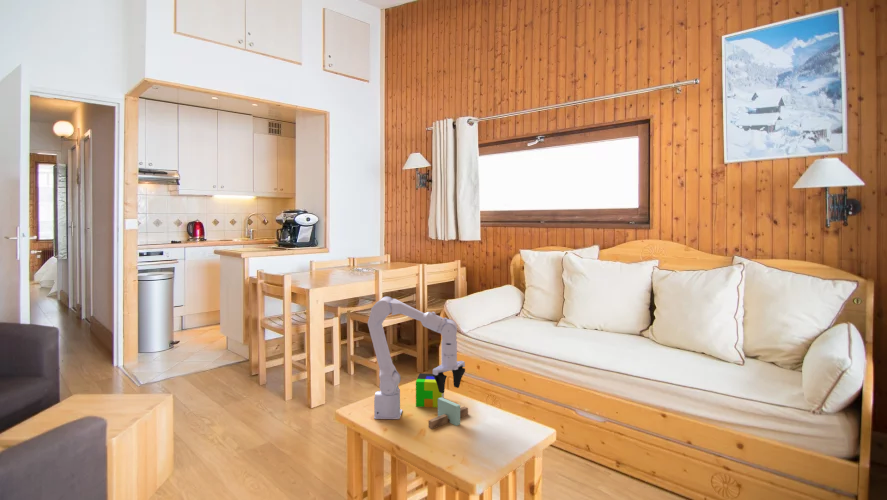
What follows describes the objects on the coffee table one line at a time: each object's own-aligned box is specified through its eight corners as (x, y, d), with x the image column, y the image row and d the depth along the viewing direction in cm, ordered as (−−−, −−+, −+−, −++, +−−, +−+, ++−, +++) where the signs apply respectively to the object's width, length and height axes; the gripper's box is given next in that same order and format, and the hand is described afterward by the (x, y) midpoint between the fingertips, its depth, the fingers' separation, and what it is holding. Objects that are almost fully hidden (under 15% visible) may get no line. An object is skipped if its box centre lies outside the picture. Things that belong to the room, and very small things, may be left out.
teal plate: (460, 424, 166) (460, 405, 165) (456, 425, 165) (456, 406, 164) (441, 415, 173) (441, 397, 173) (437, 417, 172) (437, 398, 171)
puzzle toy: (443, 397, 191) (443, 374, 190) (441, 407, 181) (441, 382, 180) (419, 397, 192) (419, 373, 191) (415, 406, 182) (415, 381, 181)
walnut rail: (431, 429, 162) (431, 421, 162) (428, 427, 163) (428, 420, 163) (467, 414, 174) (467, 407, 174) (464, 412, 176) (464, 406, 175)
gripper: (441, 359, 162) (441, 397, 163) (470, 351, 172) (470, 387, 173) (428, 355, 168) (428, 392, 168) (457, 348, 177) (457, 382, 178)
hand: (449, 389), depth 171 cm, fingers open, 7 cm apart
